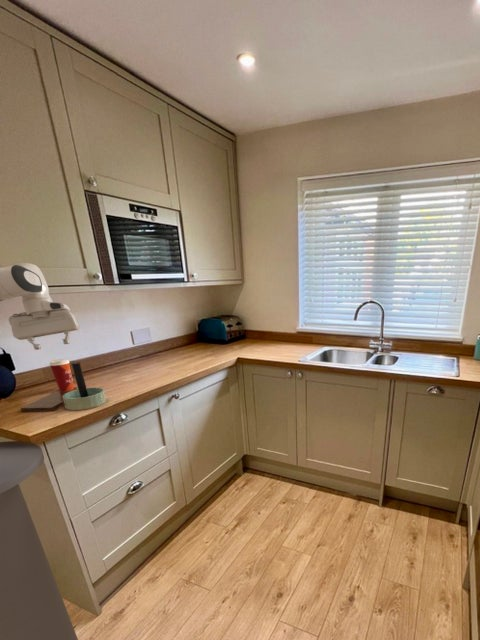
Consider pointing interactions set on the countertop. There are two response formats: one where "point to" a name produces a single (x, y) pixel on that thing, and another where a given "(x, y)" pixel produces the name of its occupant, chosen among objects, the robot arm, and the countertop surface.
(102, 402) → the green bowl
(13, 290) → the robot arm
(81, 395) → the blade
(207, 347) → the countertop surface
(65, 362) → the paper cup
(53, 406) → the cutting board
